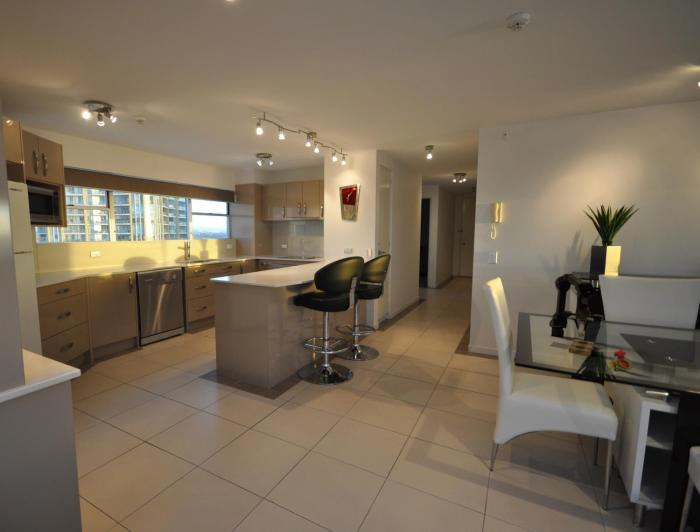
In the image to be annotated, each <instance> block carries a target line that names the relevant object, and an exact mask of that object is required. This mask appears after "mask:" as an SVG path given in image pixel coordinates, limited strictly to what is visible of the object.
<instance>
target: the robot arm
mask: <svg viewBox="0 0 700 532" xmlns="http://www.w3.org/2000/svg"><path fill="white" fill-rule="evenodd" d="M554 285H555V286H554V287H555V288H556V290H557V295H556V296H557V297H556V306H555V312H554V314H553V315H552V318H551V319H550V321H549V323H548V326H549V327H550V328H551V334H550V337H553V338H559V339H563V338H564V337H565V330H564V329H567V326H568V318H570V320H573V321H574V324H575V327H576V329H577V331H578V326H579V319H583V320H585V329H584V331H585V332H586V330H587V328H588V327H589V325H590V323H593V322H594V321H595V322H599V323H600V322H601V323H602V322H603V321H604V315H603V314H596V313H594V315H591V314H592V313H591V311H590V308H591V309H594V308H597V307H598V306H599V304H600V301H599V300H598V298H596V291H595V288H594V286H593V284H592V282H590V281H587V280H582V279H580V278H579V277H577V276H576V275H575V274H574V273H564V274H563V275H561V276H558V277H557V278H556V279H555V280H554ZM571 286H574V289H575V290H576V293H575V294H576V295H577V298H576V299H577V300H576V309H575V312H573V311H571V310H566V303H567V293H568V292H569V290H570V289H571Z"/></svg>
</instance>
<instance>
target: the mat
mask: <svg viewBox="0 0 700 532" xmlns="http://www.w3.org/2000/svg"><path fill="white" fill-rule="evenodd" d="M570 345H571V344H568V343H561V342H556V341H552V343H551V344H550V345H549V347H551V348H552V347H553V348H558V349H563V350H569V347H570Z"/></svg>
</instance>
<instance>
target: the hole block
mask: <svg viewBox="0 0 700 532" xmlns="http://www.w3.org/2000/svg"><path fill="white" fill-rule="evenodd" d="M569 345H570V346H569V347H568V353H570V354H575V355H581V356H585V357H586V356H587V357H590V356H591V354H592V352H593V350H594V349H595V342H593V341H587V340H583V339H576V338H574V339H573V341H572V342H571V344H569Z"/></svg>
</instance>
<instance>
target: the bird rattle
mask: <svg viewBox="0 0 700 532" xmlns="http://www.w3.org/2000/svg"><path fill="white" fill-rule="evenodd" d="M626 355H627V352H626V351H624V350H623V349H622V348H620V349H618V350H615V351H614V352H613V357H616V358H614V360H613V361H612V360H609V361H608V365H609V369H610V368H611V369H610V370H614V369H616V370H617V368H618V369H619V370H621V369H622V370H621V371H623V370H626V371H628V372H629V371H630V370H632V369H633V367H634V365H633V361H632V360H630V358H628V357H627V356H626Z"/></svg>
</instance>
